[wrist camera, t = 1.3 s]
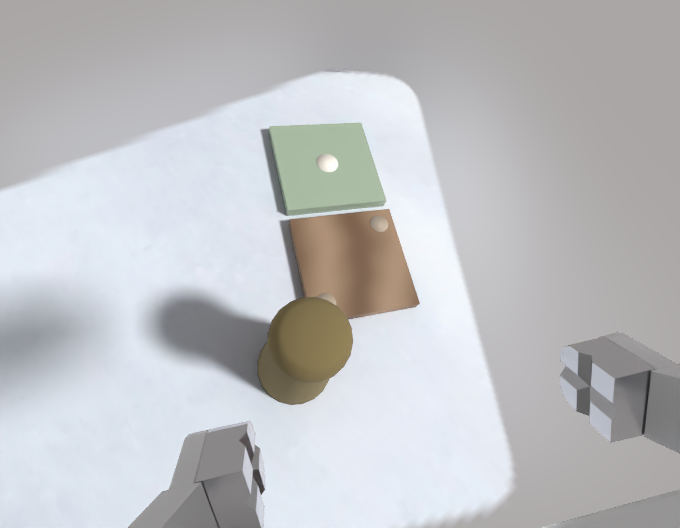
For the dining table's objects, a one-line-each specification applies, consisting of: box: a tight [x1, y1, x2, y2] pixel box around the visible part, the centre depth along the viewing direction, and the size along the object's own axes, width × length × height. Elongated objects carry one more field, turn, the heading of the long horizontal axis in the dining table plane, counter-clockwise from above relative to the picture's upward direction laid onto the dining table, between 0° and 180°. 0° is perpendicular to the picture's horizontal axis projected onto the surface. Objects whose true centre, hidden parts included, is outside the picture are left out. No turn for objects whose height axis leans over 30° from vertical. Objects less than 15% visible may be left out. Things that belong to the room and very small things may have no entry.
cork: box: [258, 297, 353, 405], centre depth 28 cm, size 6×6×11 cm
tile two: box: [289, 209, 420, 319], centre depth 37 cm, size 10×10×1 cm
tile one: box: [269, 123, 386, 216], centre depth 41 cm, size 10×10×1 cm
